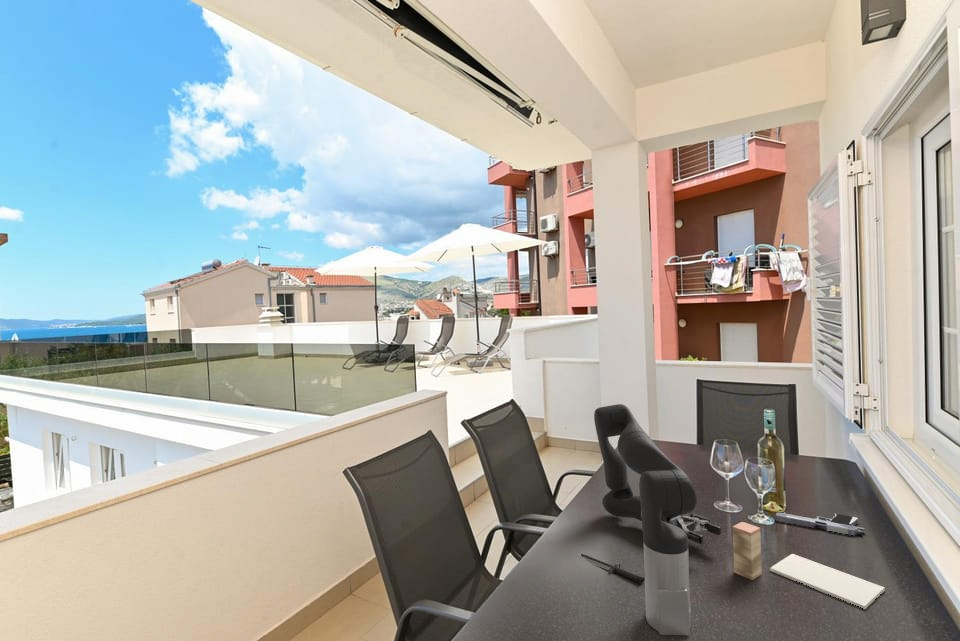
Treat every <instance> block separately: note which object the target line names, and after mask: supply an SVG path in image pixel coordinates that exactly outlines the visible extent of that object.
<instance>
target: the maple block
mask: <svg viewBox="0 0 960 641" xmlns="http://www.w3.org/2000/svg"><path fill="white" fill-rule="evenodd" d="M761 536H762V535H761V527H759V526H756V525H753V524H752V523H751V524H750V523H747V522H744V521H741V522H739V523H737V524H735V525H733V526H732V547H733V548H732V549H733V572H734V573H735V574H737V575H740V576H742V577H744V578H746V579H748V580H751V581H754V580H756V579H757V578H758V577H760V576H762V572H763V571H762V570H763V569H762V545H761V544H762V540H761V539H762V538H761Z"/></svg>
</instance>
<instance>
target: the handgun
mask: <svg viewBox="0 0 960 641" xmlns="http://www.w3.org/2000/svg"><path fill="white" fill-rule="evenodd" d="M774 520H775V522H777V521H779V522H778V523H782V522H786V523H785V524H788V523H791V524H790V525H794V524H796V525H795V526H799V525H803V526H809V527H812V528H811V529H813V528H816V529H817V528H819V529H818V530H823V529H824V531H826V532H829V531H833V532H832V533H834V532H838V533H837V534H839V533H842V534H841V535H845V534H848V535H847V536H849V535H853V536H852V537H855V536H854V535H857V536H864V534H863V533H865V534H866V528H865V527H859V526H855V525H856V524H857V523H858V524H859V521H858V520H859V518H858V517H855V516H851V515H847V514H846V515H845V514H840V513H833V517H832V518H828V517H823V516H819V515H818V516H816V518H811V517H805V516H801V515H795V514H789V513H784V512H776V513H775V515H774ZM858 524H857V525H858ZM803 526H802V527H803ZM809 527H808V528H809Z"/></svg>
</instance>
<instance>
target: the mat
mask: <svg viewBox="0 0 960 641" xmlns="http://www.w3.org/2000/svg"><path fill="white" fill-rule="evenodd" d="M769 571H770V572H772V573H774V574H777V575H779V576H781V577H784V578H786V579H789V580H792V581H794V582H796V581H797V582H796V583H799V582H800V584H801V583H803V584H802V585H803V586H806V585H807V587H808V586H809V588H810V589H811V588H812V589H813V588H814V589H813V590H816V591H818V592H821V593H823V594H825V595H828V594H829V595H828V596H830V595H831V597H833V598H835V597H836V599H838V598H839V599H838V600H840V599H841V600H840V601H843V600H844V601H843V602H845V601H846V602H845V603H848V604H850V603H851V604H850V605H852V604H854V605H853V606H855V605H856V606H855V607H857V606H859V607H858V608H860V607H861V608H860V609H862V608H863V609H862V610H866V609H868V607H869V606H870V605H872V604H873V603H874V602H875V601H876V600H877V599H878V598H879V597H880V596H881V595H882V594H883V593H884V592H885V589H886V588H885V586H882V585H879V584H876V583H874V582H871V581H868V580H865V579H863V578H860V577H857V576H854V575H852V574H850V573H849V574H848V573H846V572H843V571H841V570H838V569H836V568H832V567H830V566H827V565H824V564H822V563H819V562H816V561H813V560H811V559H808V558H806V557H802V556H800V555H797V554H794V553H791V554H789V555H788V556H786V557H785V558H782V559H781V560H780V561H778V562H776V564H774V565H772V566H771V567H770V568H769ZM880 594H881V595H880ZM876 598H877V599H876ZM875 599H876V600H875Z"/></svg>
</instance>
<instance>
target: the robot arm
mask: <svg viewBox="0 0 960 641" xmlns="http://www.w3.org/2000/svg"><path fill="white" fill-rule="evenodd" d="M594 410H595V411H594V414H593V419H594V427H595V432H596V436H597V440H598V446H599V450H600V453H601V458H602V461H603V468H604V469H603V470H604V478H605V479H604V480H605V484H606V487H607V488H608V489H610V490H609V491H608V492H607V493H606V494H605V495H604V496H603V498H602V501H601V502H602V507H603V508H604V510H605V511H606V512H607V513H608V514H610V515H612V516H615V517H619V518H627V519H635V520H638V521H641V525H642V536H643V538H642V539H643V563H644V565H643V566H644V570H643V571H644V578H645V580H644V597H645V617H646V621H647V623H648V625H649V626H650V627H651V628H653V629H654V630H656V631H657V632H658V634H659V635H660V636H690V634H691V632H690V631H691V627H692V620H691V619H692V617H691V615H692V614H691V594H690V592H691V591H690V586H691V585H690V564H689V562H690V559H689V556H690V555H689V541H691V542H694V543H697V544H699V545H703V544H704V536H703V535H702V534H700V533H697V532H700V531H707V532H709V533H712V534H714V535H717V536H720V535H721V534H722V528H721V526H718V525H716V524H713V523H711V518H709V517H707V516H706V517H705V516H703V515H699V514H697V513H694V512H693V511H694V510H695V509H696V506H697V505H698V504H697V503H698V498H697V493H696V492H697V491H696V488H695V487H694V483H693V481H692V480H691V479H690V477H689V476H688V475H687V473H685V471H684V470H683V469H682V468H680V467H679V466H678V465H677V464H675V463H674V462H673V461H672V460H671V459H670V458H668V456H666V454H665V453H664V452H663V451H662V450H661V449H660V448H659V447H658V445H657V444H656V442H655V441H654V440H653V439H652V438H651V437H650V436H649V434H647V433H646V431H645V430H644V429H643V428H642V427H641V425H640V424H639V422H638V421H637V419H636V418H635V416H634V415H633V412H632V411H631V410H630V409H629V407H628V406H627V405H625V404H621V403H617V404H613V405H606V406H602V407H601V406H600V407H597V408H596V409H594ZM617 436H619V437H618V441H617V450H618V451H617V450H616V449H615V448H614V446H613V445H612V444H611V443H610V440H609V438H611V437H617ZM627 467H628V468H629V469H630V470H632V471H634V473H637V474H639V475H640V476H639V482H638V485H639V487H638V488H639V495H634V493H633V490H632V488H631V485H630V483H629V481H628V468H627ZM686 514H689V515H686ZM695 525H696V526H695Z"/></svg>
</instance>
